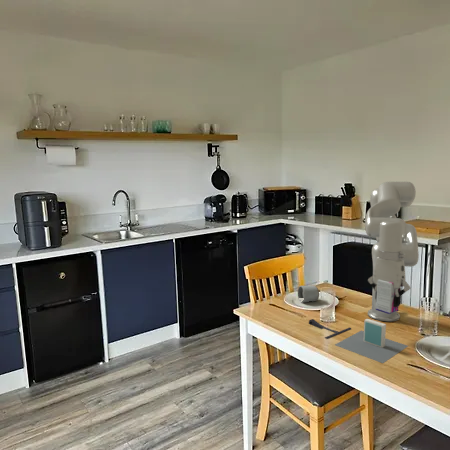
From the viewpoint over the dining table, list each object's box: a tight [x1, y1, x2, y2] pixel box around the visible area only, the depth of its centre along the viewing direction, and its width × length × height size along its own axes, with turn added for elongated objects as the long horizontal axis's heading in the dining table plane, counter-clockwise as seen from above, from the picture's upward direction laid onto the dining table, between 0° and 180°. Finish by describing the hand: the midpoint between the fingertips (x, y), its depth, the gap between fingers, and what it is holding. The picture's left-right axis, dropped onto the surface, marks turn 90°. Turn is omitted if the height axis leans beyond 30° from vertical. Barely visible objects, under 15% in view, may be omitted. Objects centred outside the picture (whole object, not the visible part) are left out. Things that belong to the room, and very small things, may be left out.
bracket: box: [308, 318, 352, 340], centre depth 156 cm, size 14×15×3 cm
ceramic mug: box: [297, 285, 320, 303], centre depth 189 cm, size 11×8×8 cm
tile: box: [363, 318, 387, 348], centre depth 141 cm, size 2×7×8 cm, turn 41°
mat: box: [334, 329, 409, 364], centre depth 141 cm, size 18×18×1 cm
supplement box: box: [376, 280, 399, 314], centre depth 145 cm, size 6×6×12 cm
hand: (387, 303), depth 145 cm, fingers closed on supplement box, 6 cm apart
